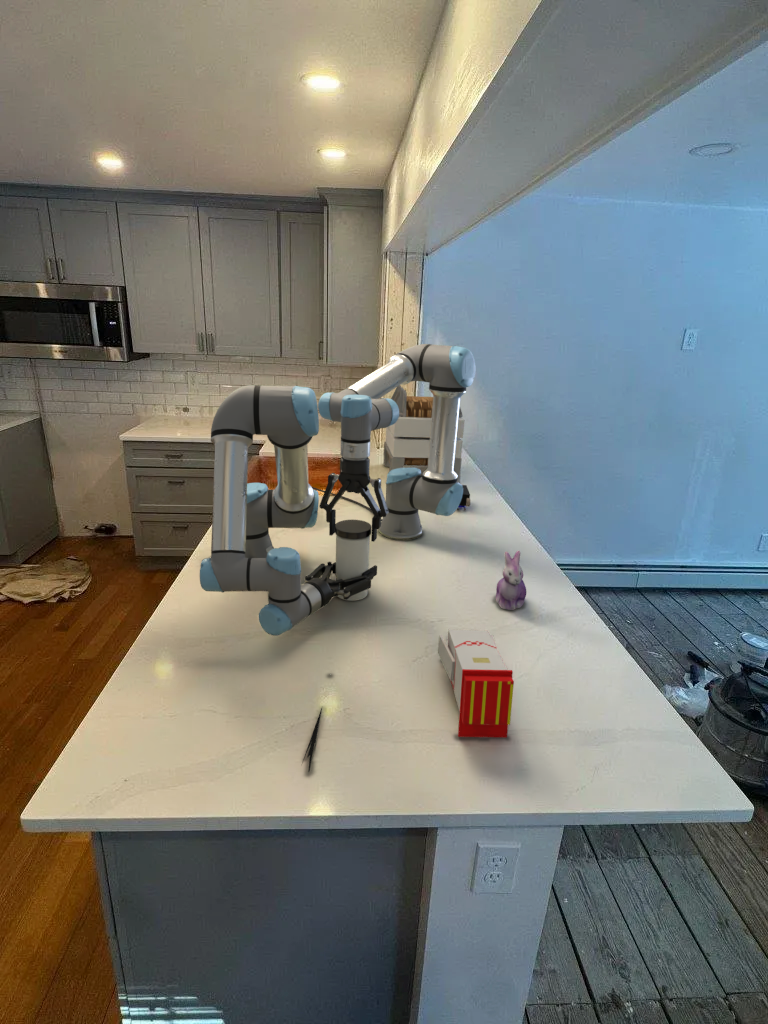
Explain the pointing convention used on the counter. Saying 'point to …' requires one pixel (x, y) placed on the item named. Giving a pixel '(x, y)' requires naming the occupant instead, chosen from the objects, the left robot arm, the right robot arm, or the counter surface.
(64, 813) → the counter surface
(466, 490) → the figurine character
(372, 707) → the counter surface
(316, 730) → the feather
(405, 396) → the light grey slatted crate
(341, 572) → the jar
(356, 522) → the lid
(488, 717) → the toy
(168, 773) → the counter surface
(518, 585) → the figurine
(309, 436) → the left robot arm
